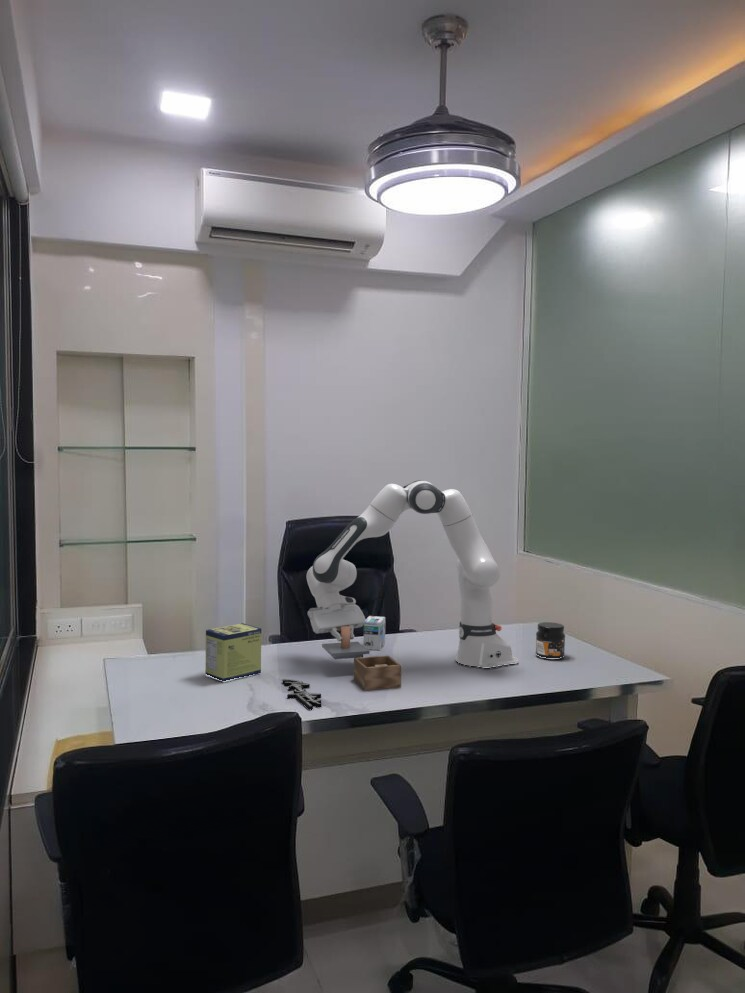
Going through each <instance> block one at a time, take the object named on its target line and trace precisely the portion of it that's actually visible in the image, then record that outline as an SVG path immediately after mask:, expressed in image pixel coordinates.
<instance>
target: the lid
mask: <svg viewBox="0 0 745 993" xmlns="http://www.w3.org/2000/svg"><path fill="white" fill-rule="evenodd" d="M340 634H342V637H343V640H342V641H340V642H331V643H322V644H321V647H322V648H323V650H324V651H325V652H327V653H328V654H329V655H330V656H331V657H332V658H333V659H334V660H343V659H344V660H345V659H346V660H347V659H354V658H362V657H364V655H370V649H366V648H365V647H364V644H362V643H360V642H359V641H351V640H350V626H342V627H341V630H340Z"/></svg>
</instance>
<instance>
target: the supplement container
mask: <svg viewBox="0 0 745 993" xmlns="http://www.w3.org/2000/svg"><path fill="white" fill-rule="evenodd" d="M535 636H536V639H535V655H536V654H537V655H539V656H541V657H546V658H560V657H563V656H564V657H565V655H566V654H565V653H566V652H565V650H566V648H565V647H566V634H565V625H564V624H562V623H558V622H549V621H545V622H539V623H538V624H537V631H536V633H535ZM537 655H536V656H537Z"/></svg>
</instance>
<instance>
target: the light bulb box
mask: <svg viewBox="0 0 745 993" xmlns="http://www.w3.org/2000/svg"><path fill="white" fill-rule="evenodd" d="M384 644H385V645H386V617H385V616H377V615H375V616H374V615H369V616H368V617H367V618H365V623H364V624H363V646H364V647H365V648H366V649H368V650H370V649H372V650H373V651H381V650H382V649H383V647H384V646H385V645H384ZM380 649H381V650H380Z"/></svg>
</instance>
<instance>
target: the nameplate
mask: <svg viewBox="0 0 745 993" xmlns="http://www.w3.org/2000/svg"><path fill="white" fill-rule="evenodd" d="M282 685H283V686H284V687H288V686H289V687H288V691H289V692H291V691H293V693H287V695H286V696H287V697H286V698H287V700H290V698H291V699H295V698H296V700H297V701H298V703H300V704H301V703H302V704H303V705H302V704H301V705H302V706H304V705H305V706H306V707H307V708H308V709H311V710H310V711H313V710H314V707H315V706H316V708H317V707H321V708H322V699H321V698H322V693H318V692H317V693H316V692H315V693H314V692H308V691H307V689H310V688H311V684H310V683H308V682H307V683H306V682H303V681H302V680H297V679H290V678H289V679H287V678H286V679H282ZM292 689H293V690H292ZM305 706H304V707H305ZM306 707H305V708H306ZM307 708H306V709H307ZM308 709H307V710H308ZM312 709H313V710H312Z"/></svg>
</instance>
